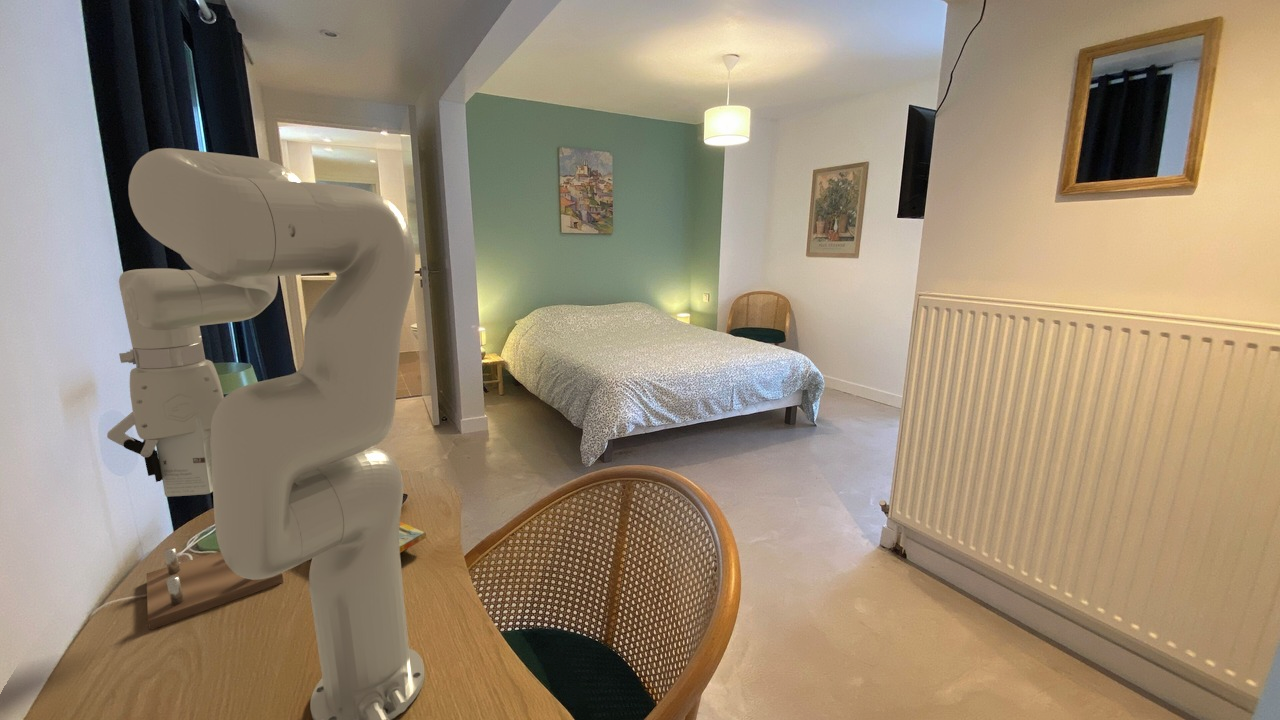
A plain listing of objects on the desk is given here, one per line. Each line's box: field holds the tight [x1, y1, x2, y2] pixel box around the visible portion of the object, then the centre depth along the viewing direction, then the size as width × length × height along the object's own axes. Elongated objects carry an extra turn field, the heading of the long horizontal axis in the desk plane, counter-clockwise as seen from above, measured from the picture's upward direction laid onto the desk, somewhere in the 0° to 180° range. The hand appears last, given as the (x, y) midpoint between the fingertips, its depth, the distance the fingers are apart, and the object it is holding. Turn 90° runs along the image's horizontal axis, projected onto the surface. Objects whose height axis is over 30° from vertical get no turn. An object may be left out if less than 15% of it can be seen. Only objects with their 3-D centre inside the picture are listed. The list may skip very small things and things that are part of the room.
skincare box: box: [155, 417, 213, 498], centre depth 80 cm, size 6×4×12 cm
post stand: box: [146, 546, 284, 631], centre depth 85 cm, size 14×16×6 cm
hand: (192, 469), depth 81 cm, fingers closed on skincare box, 7 cm apart
